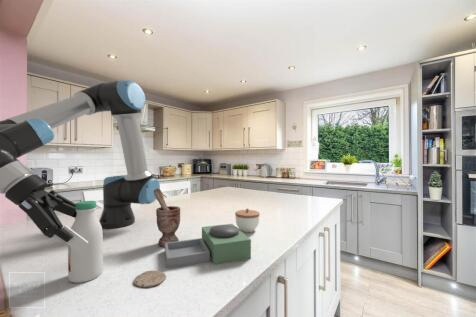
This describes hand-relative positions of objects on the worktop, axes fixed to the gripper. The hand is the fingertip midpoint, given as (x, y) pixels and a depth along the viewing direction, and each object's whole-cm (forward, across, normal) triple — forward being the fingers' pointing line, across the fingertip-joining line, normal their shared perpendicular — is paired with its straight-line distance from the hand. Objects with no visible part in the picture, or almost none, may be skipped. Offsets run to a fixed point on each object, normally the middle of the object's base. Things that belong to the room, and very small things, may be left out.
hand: (91, 237), depth 60 cm
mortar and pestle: (+21, -17, +7) cm, 28 cm away
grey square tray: (+26, -3, +11) cm, 28 cm away
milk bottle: (+7, 0, -8) cm, 11 cm away
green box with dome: (+35, -3, +20) cm, 40 cm away
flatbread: (+18, +8, +3) cm, 20 cm away
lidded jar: (+46, -20, +31) cm, 59 cm away
